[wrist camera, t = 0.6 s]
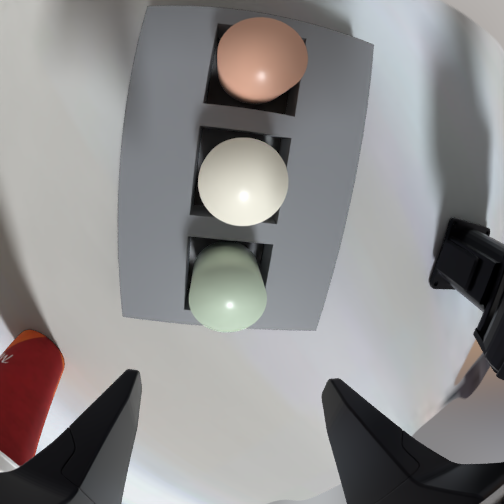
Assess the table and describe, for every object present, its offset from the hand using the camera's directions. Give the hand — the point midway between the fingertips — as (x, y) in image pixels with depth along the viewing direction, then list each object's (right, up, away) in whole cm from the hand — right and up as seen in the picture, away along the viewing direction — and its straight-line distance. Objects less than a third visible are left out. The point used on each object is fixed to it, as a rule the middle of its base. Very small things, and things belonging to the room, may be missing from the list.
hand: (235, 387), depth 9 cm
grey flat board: (0, +10, +8) cm, 12 cm away
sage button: (-1, +3, +9) cm, 9 cm away
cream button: (0, +9, +7) cm, 11 cm away
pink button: (+1, +14, +4) cm, 15 cm away
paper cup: (-20, -5, +12) cm, 23 cm away
